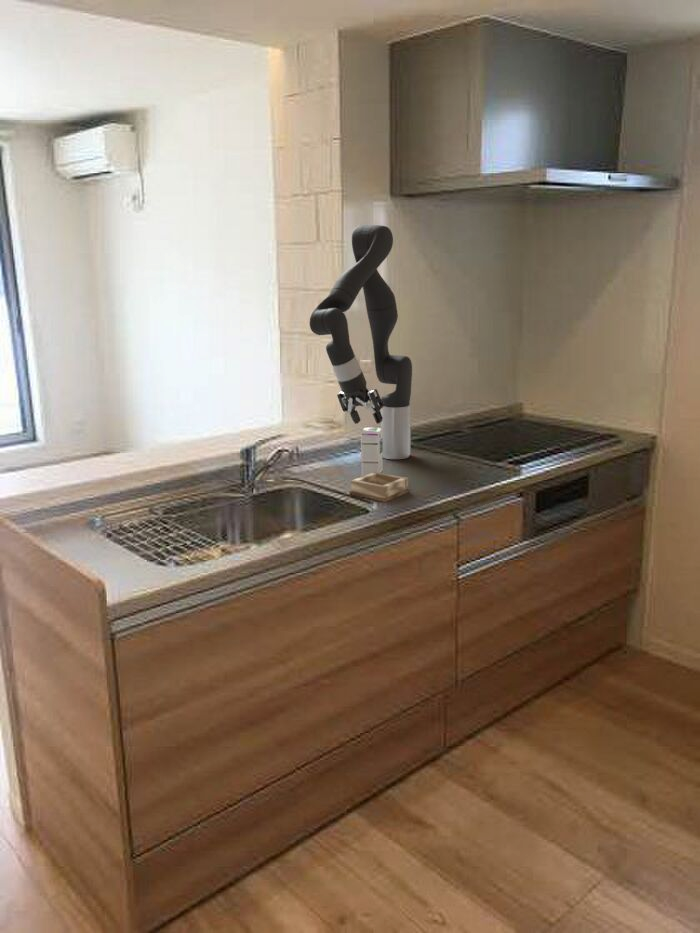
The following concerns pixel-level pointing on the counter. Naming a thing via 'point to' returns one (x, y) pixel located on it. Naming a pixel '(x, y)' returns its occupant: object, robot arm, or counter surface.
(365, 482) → the base
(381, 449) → the syrup box
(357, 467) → the counter surface
